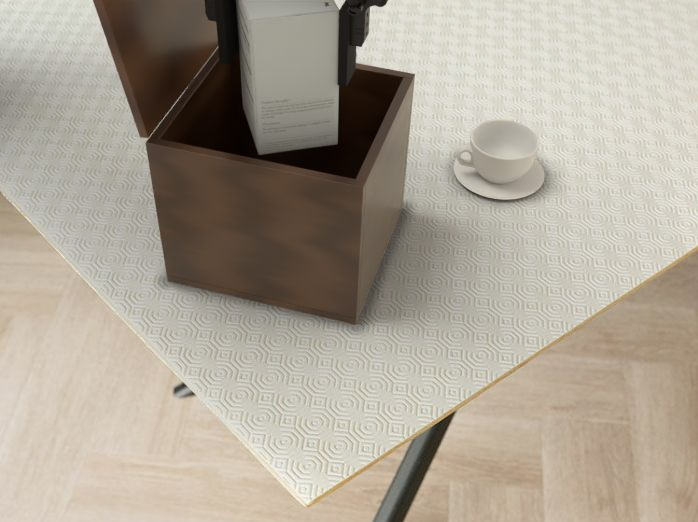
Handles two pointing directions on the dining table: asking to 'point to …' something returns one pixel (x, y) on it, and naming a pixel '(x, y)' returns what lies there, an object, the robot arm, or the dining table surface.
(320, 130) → the white packaging box
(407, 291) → the dining table surface
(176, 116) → the chest
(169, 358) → the dining table surface
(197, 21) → the chest lid
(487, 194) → the teacup
